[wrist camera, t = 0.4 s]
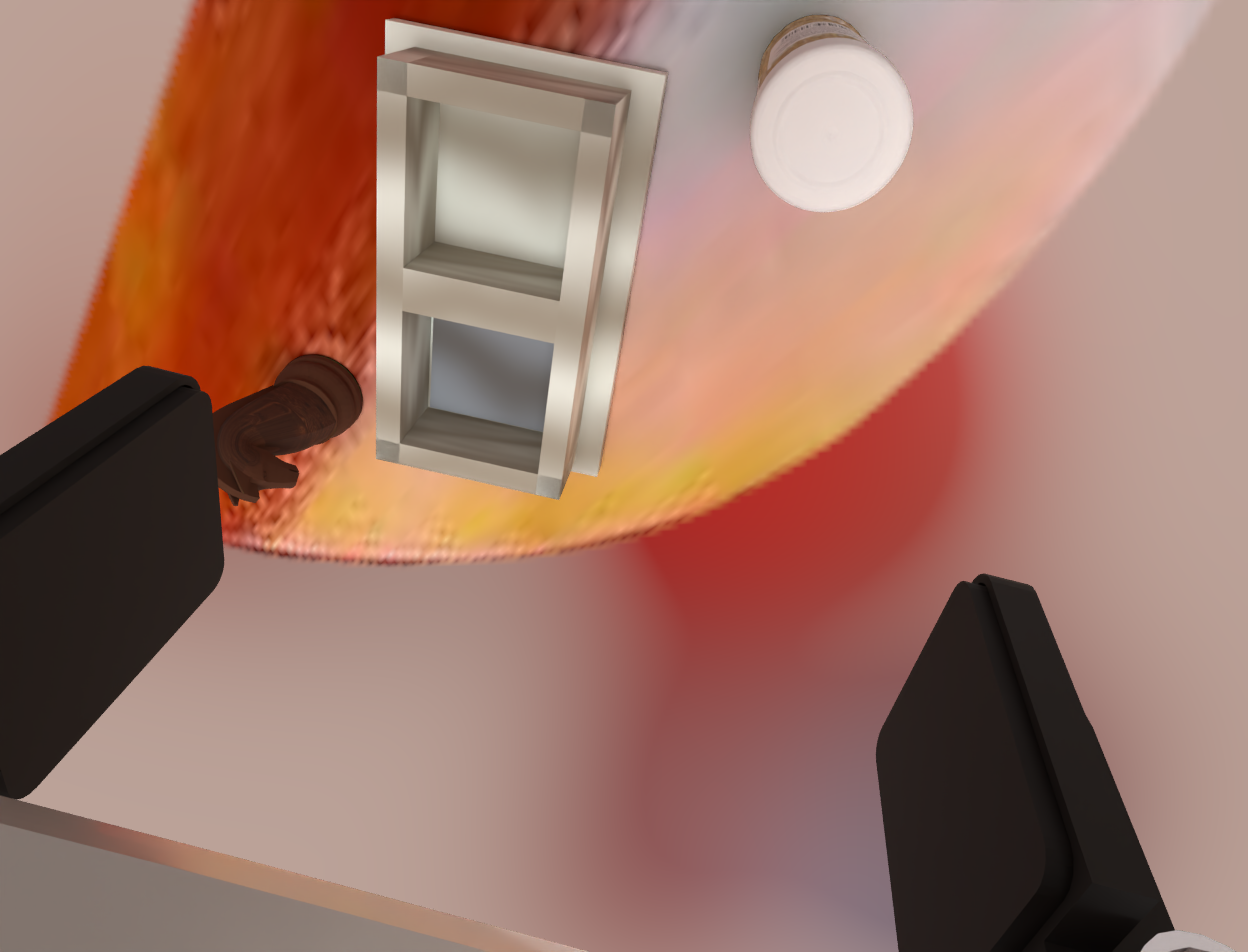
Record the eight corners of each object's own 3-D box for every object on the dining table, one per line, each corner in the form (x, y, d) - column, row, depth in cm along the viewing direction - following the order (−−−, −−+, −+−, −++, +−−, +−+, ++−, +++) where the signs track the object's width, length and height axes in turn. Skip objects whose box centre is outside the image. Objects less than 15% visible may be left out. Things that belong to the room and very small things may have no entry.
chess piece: (334, 443, 49) (241, 546, 40) (261, 382, 48) (149, 475, 39) (379, 395, 47) (291, 494, 38) (304, 330, 45) (195, 417, 37)
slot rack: (394, 18, 37) (344, 27, 32) (668, 72, 36) (653, 89, 32) (389, 420, 47) (351, 466, 43) (600, 467, 47) (582, 518, 43)
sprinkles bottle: (748, 122, 37) (732, 200, 25) (773, 2, 34) (769, 29, 23) (854, 142, 36) (886, 229, 25) (887, 23, 34) (939, 60, 23)
